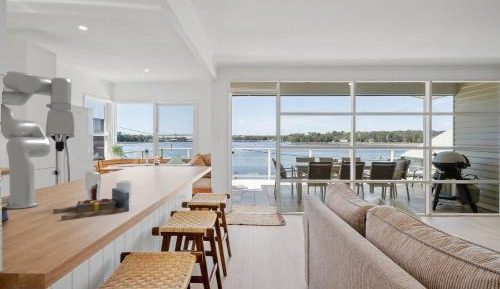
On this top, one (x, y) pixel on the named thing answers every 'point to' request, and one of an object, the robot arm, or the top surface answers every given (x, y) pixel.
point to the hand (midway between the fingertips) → (59, 151)
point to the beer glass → (93, 185)
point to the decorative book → (95, 205)
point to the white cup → (125, 187)
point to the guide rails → (121, 203)
